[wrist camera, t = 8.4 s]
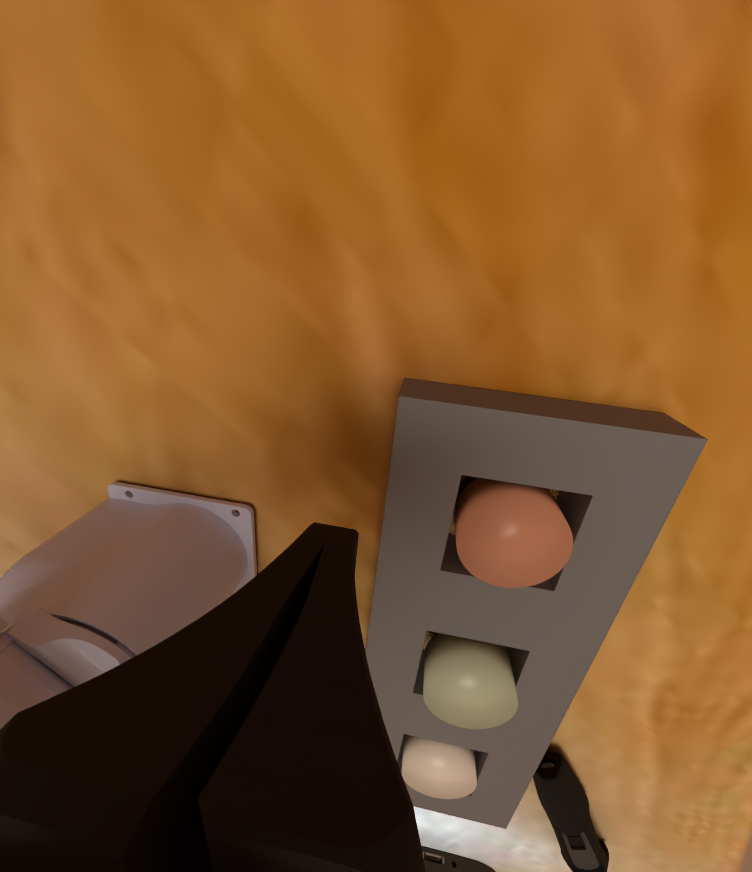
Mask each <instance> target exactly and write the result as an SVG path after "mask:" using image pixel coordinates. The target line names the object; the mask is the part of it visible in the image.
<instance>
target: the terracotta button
mask: <svg viewBox="0 0 752 872" xmlns="http://www.w3.org/2000/svg"><path fill="white" fill-rule="evenodd" d="M454 521H455V534H456V547H457V553H458V556H459V559H460V560H461V562H462V564H463V565H464V567H465V568H466V569H467V570H468V571H469V572H470V573H471V574H472V575H474V576H475V577H476V578H478V579H480V580H482V581H484V582H486V583H488V584H491V585H495V586H499V587H506V588H522V587H528V586H532V585H536V584H539V583H542V582H544V581H546V580H548V579H550V578H551V577H553V576H554V575H556V574H557V573H558V572H559V571H560V570H561V569H562V568H563V567H564V566H565V564H566V563H567V562H568V560H569V558H570V556H571V553H572V549H573V536H572V532H571V529H570V527H569V525H568V523H567V521H566V519H565V517H564V515H563V514H562V512H561V510H560V508H559V506H558V504H557V502H556V500H555V499H554V497H553V495H552V493H551V492H550V490H549V489H548V488H542V487H535V486H529V485H523V484H516V483H510V482H504V481H497V480H491V479H485V478H478V479H476V480H474V481H473V482H471V483H470V484H469V485H468V486H466V487H465V489H464V490H463V491H462V492H461V494H460V495H459V497H458V499H457V501H456V504H455V509H454Z"/></svg>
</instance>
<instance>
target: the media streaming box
mask: <svg viewBox="0 0 752 872" xmlns="http://www.w3.org/2000/svg"><path fill="white" fill-rule="evenodd" d="M421 848H422V854H423V859H424V864H425V871H426V872H495V871H494V870H492V869H491V868H489V867H488V866H486V865H484V864H482V863H480V862H477V861H474V860H471V859H467V858H464V857H460V856H456V855H453V854H449V853H445V852H441V851H438V850H434V849H430V848H426V847H422V846H421Z"/></svg>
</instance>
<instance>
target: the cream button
mask: <svg viewBox="0 0 752 872" xmlns="http://www.w3.org/2000/svg"><path fill="white" fill-rule="evenodd" d="M402 777H403V779H404V781H405V782H406V783H407V784H408V785H409V786H410V787H411V788H413V789H414V790H416V791H417V792H419V793H422V794H424V795H427V796H430V797H434V798H440V799H458V798H462V797H465V796H468V795H469V794H471V793H472V792H473V791H474V790H475V789H476V786H477V778H476V766H475V753H474V750H472V749H468V748H463V747H459V746H454V745H450V744H446V743H441V742H437V741H432V740H428V739H424V738H419V737H415V736H410V735H406V734H404V744H403V759H402Z"/></svg>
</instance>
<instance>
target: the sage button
mask: <svg viewBox="0 0 752 872" xmlns="http://www.w3.org/2000/svg"><path fill="white" fill-rule="evenodd" d="M423 698H424V702H425V704H426V706H427V708H428V709H429V710H430V711H431V712H432V713H433V714H434V715H435V716H436V717H438V718H439V719H441V720H442V721H444V722H446V723H449V724H451V725H454V726H457V727H461V728H467V729H487V728H493V727H496V726H499V725H502V724H504V723H506V722H507V721H509V720H510V719H511V718H512V717H513V716H514V715H515V713H516V711H517V708H518V698H517V693H516V687H515V682H514V677H513V672H512V667H511V662H510V657H509V653H508V651H507V649H506V648H505V646H502V645H497V644H492V643H487V642H482V641H477V640H472V639H467V638H462V637H457V636H452V635H447V634H442V633H440V634H438V635H437V636H435V637H434V638H432V639H431V640H430V641H429V643H428V644H427V646H426V648H425V653H424V685H423Z"/></svg>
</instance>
